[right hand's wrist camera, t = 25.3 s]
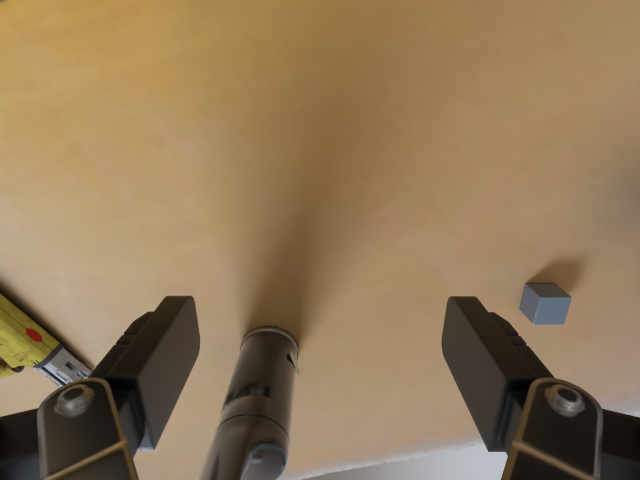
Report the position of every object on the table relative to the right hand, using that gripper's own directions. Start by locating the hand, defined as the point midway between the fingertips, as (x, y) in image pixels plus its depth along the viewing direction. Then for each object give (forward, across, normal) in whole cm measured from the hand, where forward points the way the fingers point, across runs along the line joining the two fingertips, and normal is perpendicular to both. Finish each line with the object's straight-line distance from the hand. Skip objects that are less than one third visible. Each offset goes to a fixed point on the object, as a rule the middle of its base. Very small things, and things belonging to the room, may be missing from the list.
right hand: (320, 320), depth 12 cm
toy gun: (+39, +50, +31) cm, 71 cm away
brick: (+39, -34, +22) cm, 56 cm away
